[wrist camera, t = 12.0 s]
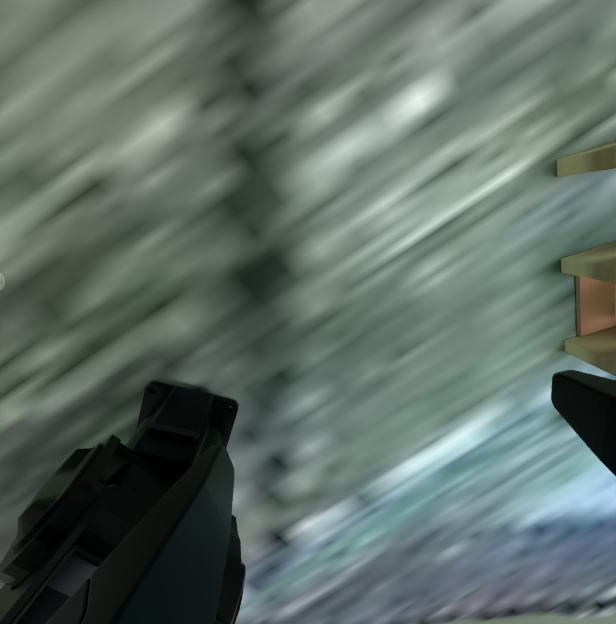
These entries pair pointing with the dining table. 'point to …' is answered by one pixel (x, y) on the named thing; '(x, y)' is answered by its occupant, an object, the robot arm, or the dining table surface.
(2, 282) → the dome cover
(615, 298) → the tall off-white box
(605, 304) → the rack
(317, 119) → the dining table surface
